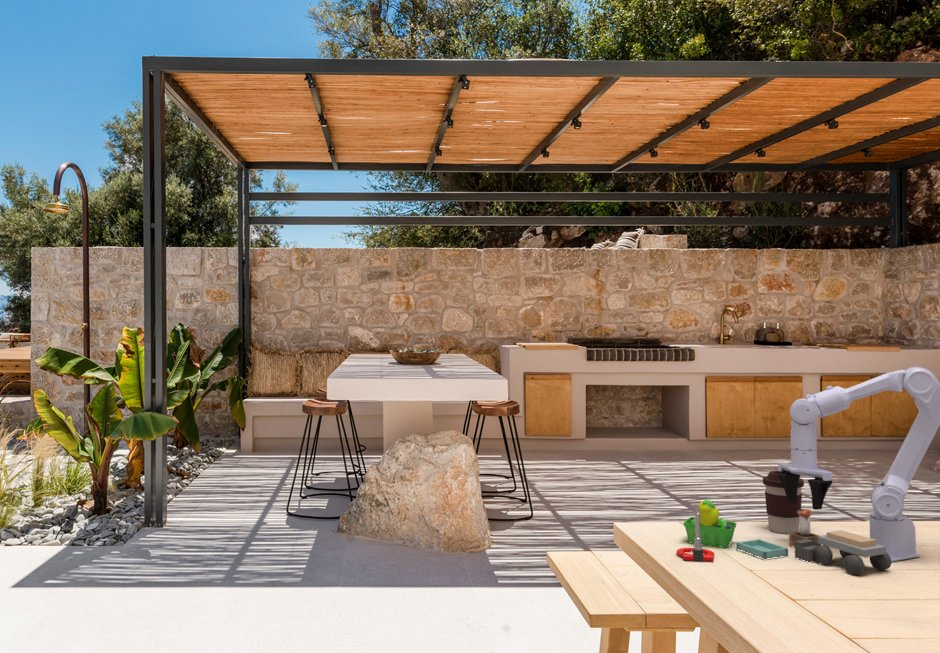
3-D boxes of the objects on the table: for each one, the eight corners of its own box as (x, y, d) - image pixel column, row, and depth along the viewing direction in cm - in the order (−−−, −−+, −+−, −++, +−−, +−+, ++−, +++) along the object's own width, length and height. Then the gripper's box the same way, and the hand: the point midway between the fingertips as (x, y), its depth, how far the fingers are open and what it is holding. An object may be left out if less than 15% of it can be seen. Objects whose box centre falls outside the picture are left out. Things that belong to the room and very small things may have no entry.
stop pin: (804, 544, 183) (804, 508, 183) (815, 548, 180) (815, 511, 180) (794, 546, 182) (794, 509, 182) (805, 549, 179) (805, 512, 179)
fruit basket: (737, 542, 186) (737, 496, 186) (729, 551, 178) (728, 503, 178) (691, 536, 192) (690, 492, 192) (681, 544, 184) (680, 498, 184)
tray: (759, 546, 182) (759, 539, 182) (788, 556, 174) (788, 548, 174) (736, 549, 179) (736, 542, 179) (764, 560, 171) (764, 552, 171)
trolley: (812, 561, 169) (812, 531, 169) (844, 556, 173) (843, 527, 173) (859, 577, 158) (858, 545, 158) (891, 571, 162) (890, 540, 162)
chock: (807, 556, 174) (807, 539, 174) (822, 561, 170) (821, 543, 170) (794, 558, 172) (794, 541, 172) (809, 563, 169) (809, 545, 169)
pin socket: (804, 543, 184) (804, 531, 184) (821, 548, 180) (821, 536, 180) (789, 545, 182) (788, 533, 182) (805, 551, 178) (805, 538, 178)
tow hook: (674, 551, 180) (679, 561, 171) (674, 497, 181) (678, 503, 171) (711, 553, 178) (718, 563, 169) (710, 498, 179) (717, 504, 170)
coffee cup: (756, 526, 201) (755, 470, 201) (791, 525, 202) (790, 469, 203) (775, 536, 191) (774, 476, 192) (812, 534, 192) (811, 475, 193)
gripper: (768, 446, 186) (768, 501, 186) (815, 454, 173) (816, 513, 173) (789, 444, 189) (790, 498, 189) (838, 452, 176) (839, 510, 176)
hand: (804, 505), depth 181 cm, fingers open, 7 cm apart
